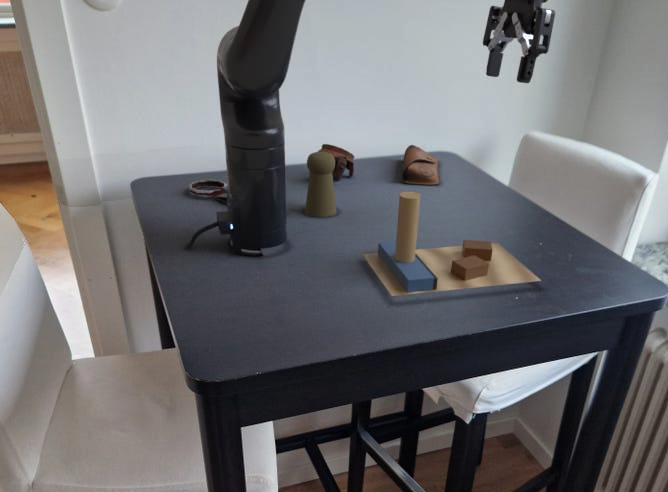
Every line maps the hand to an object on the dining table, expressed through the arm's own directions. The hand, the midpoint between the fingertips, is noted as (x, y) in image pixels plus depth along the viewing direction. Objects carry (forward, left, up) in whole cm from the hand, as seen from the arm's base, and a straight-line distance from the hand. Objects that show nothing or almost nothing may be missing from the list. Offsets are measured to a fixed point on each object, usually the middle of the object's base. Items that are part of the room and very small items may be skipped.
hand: (507, 79), depth 110 cm
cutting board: (-14, -17, -26) cm, 34 cm away
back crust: (-8, -14, -24) cm, 29 cm away
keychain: (-43, +25, -26) cm, 56 cm away
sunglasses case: (+1, +35, -26) cm, 43 cm away
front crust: (-12, -20, -24) cm, 34 cm away
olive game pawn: (-27, +15, -26) cm, 40 cm away
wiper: (-22, -17, -24) cm, 37 cm away
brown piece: (-20, +33, -26) cm, 46 cm away
